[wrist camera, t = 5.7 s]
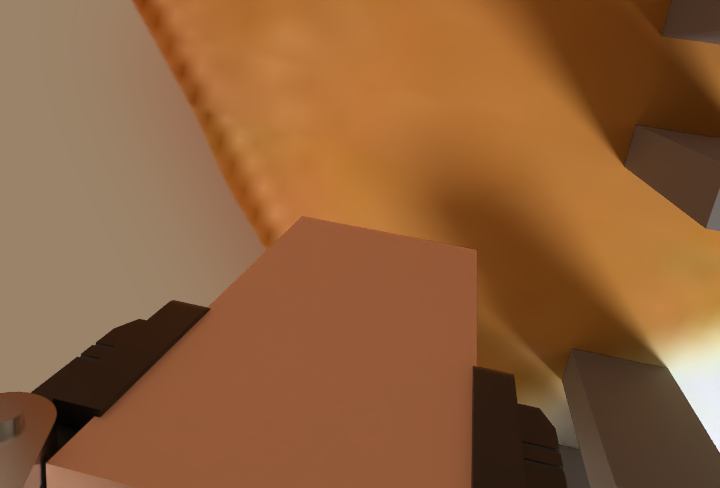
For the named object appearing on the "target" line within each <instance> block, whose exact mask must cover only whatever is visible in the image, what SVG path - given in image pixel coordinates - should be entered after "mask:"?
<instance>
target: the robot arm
mask: <svg viewBox="0 0 720 488" xmlns="http://www.w3.org/2000/svg"><path fill="white" fill-rule="evenodd" d="M209 310H210V308H207V307H203V306H198V305H193V304H188V303H184V302H179V301H175V300H173V301H170V302H169V303H167V304H166V305H165V306H164V307H163V308H161V309H160V310H159V311H158V312H156V313H155V314H154V315H153V316H152V317H150V318H149V319H148V320H142V319H138V320H135V321H133V322H130V323H127V324H125V325H122V326H119V327H117V328H114V329H113V330H111V331H110V332H109V333H108V334H106V335H105V336H104V337H102V338H101V339H100V340H98V341H97V342H96V345H95V346H94V345H92V346H91V347H89V348H88V349H87V350H85V351H84V352H83V353H82V354H81V357H77V358H75V359H74V360H72V361H71V362H70V363H69V364H67V365H66V366H65V367H63V368H62V369H61V370H60V371H58V372H57V373H56V374H54V375H53V376H52V377H50V378H49V379H48V380H47V381H45V382H44V383H43V384H41V385H40V386H39V387H38V388H36V389H35V390H34V391H32V392H31V393H27V392H26V393H25V392H6V393H0V488H47V481H46V463H47V462H48V461H49V460H50V459H51V458H52V457H53V456H54V455H55V454H56V453H57V452H58V451H59V450H60V449H61V448H62V447H63V446H64V445H65V444H66V443H68V442H69V441H70V440H71V439H72V438H73V437H74V436H75V435H76V434H77V433H78V432H79V431H80V430H81V429H82V428H83V427H84V426H85V425H86V424H87V423H88V422H89V421H90V420H91V419H92V418H93V417H94V416H95V417H99V418H100V417H101V416H102V415H103V414H104V413H105V412H106V411H107V410H108V409H109V408H110V407H111V406H112V405H114V404H115V403H116V402H117V401H118V400H119V399H120V398H121V397H122V396H123V395H124V394H125V393H126V392H127V391H128V390H129V389H130V388H131V387H132V386H133V385H134V384H135V383H136V382H137V381H138V380H139V379H140V378H141V377H142V376H143V375H144V374H145V373H146V372H147V371H148V370H149V369H150V368H151V367H152V366H153V365H154V364H155V363H156V362H157V361H158V360H159V359H160V358H161V357H162V356H163V355H164V354H165V353H166V352H167V351H168V350H169V349H171V348H172V347H173V346H174V345H175V344H176V343H177V342H178V341H179V340H180V339H181V338H182V337H183V336H184V335H185V334H186V333H187V332H188V331H189V330H190V329H191V328H192V327H193V326H194V325H195V324H196V323H197V322H198V321H199V320H200V319H201V318H202V317H203V316H204V315H205V314H206V313H207V312H208V311H209ZM559 450H560V449H559V444H558V439H557V434H556V429H555V428H554V426H553V425H552V424H551V423H550V421H549V420H548V419H547V417H546V416H545V415H544V414H543V412H542V411H541V410H540V408H535V407H531V406H526V405H522V404H517V396H516V387H515V378H514V375H513V374H510V373H505V372H500V371H496V370H491V369H487V368H482V367H477V366H473V385H472V466H471V488H568V487H567V482H566V477H565V473H564V471H563V463H562V458H561V454H560V453H559Z"/></svg>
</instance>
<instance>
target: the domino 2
mask: <svg viewBox="0 0 720 488" xmlns="http://www.w3.org/2000/svg"><path fill="white" fill-rule="evenodd" d="M559 449H560V450H559V453H560V454H561V458H562V463H563V471H564V473H565V477H566V482H567V487H568V488H590V484H589V480H588V477H587V473H586V469H585V465H584V462H583V458H582V454H581V450H580V449H575V448H571V447H567V446H562V445H559Z"/></svg>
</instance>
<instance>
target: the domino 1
mask: <svg viewBox="0 0 720 488" xmlns="http://www.w3.org/2000/svg"><path fill="white" fill-rule="evenodd" d="M208 308H210V310H209V311H208V312H207V313H206V314H205V315H204V316H203V317H202V318H201V319H200V320H199V321H198V322H197V323H196V324H195V325H194V326H193V327H192V328H191V329H190V330H189V331H188V332H187V333H186V334H185V335H184V336H183V337H182V338H181V339H180V340H179V341H178V342H177V343H176V344H175V345H174V346H173V347H172V348H171V349H169V350H168V351H167V352H166V353H165V354H164V355H163V356H162V357H161V358H160V359H159V360H158V361H157V362H156V363H155V364H154V365H153V366H152V367H151V368H150V369H149V370H148V371H147V372H146V373H145V374H144V375H143V376H142V377H141V378H140V379H139V380H138V381H137V382H136V383H135V384H134V385H133V386H132V387H131V388H130V389H129V390H128V391H127V392H126V393H125V394H124V395H123V396H122V397H121V398H120V399H119V400H118V401H117V402H116V403H115V404H114V405H112V406H111V407H110V408H109V409H108V410H107V411H106V412H105V413H104V414H103V415H102V416H101V417H100V418H99V417H95V416H94V417H93V418H92V419H91V420H90V421H89V422H88V423H87V424H86V425H85V426H84V427H83V428H82V429H81V430H80V431H79V432H78V433H77V434H76V435H75V436H74V437H73V438H72V439H71V440H70V441H69V442H68V443H66V444H65V445H64V446H63V447H62V448H61V449H60V450H59V451H58V452H57V453H56V454H55V455H54V456H53V457H52V458H51V459H50V460H49V461H48V462H47V463H46V481H47V488H471V466H472V385H473V366H477V250H475V249H470V248H465V247H460V246H455V245H449V244H444V243H439V242H434V241H428V240H423V239H418V238H413V237H408V236H402V235H397V234H392V233H387V232H382V231H376V230H371V229H366V228H361V227H355V226H350V225H345V224H340V223H335V222H329V221H324V220H319V219H314V218H308V217H303V216H302V217H301V218H300V219H299V220H298V221H297V222H296V223H295V224H294V225H293V226H292V227H291V228H290V229H288V230H287V231H286V232H285V233H284V234H283V235H282V236H281V237H280V238H279V239H278V240H277V241H276V242H275V243H274V244H273V245H272V246H271V247H270V248H269V249H268V250H267V251H266V252H265V253H264V254H263V255H262V256H261V257H260V258H258V259H257V260H256V261H255V262H254V263H253V264H252V265H251V266H250V267H249V268H248V269H247V270H246V271H245V272H244V273H243V274H242V275H241V276H240V277H239V278H238V279H237V280H236V281H235V282H234V283H233V284H231V285H230V287H228V288H227V289H226V290H225V291H224V292H223V293H222V294H221V295H220V296H219V297H218V298H217V299H216V300H215V301H214V302H213V303H212V304H211V305H210V306H209V307H208Z"/></svg>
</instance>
